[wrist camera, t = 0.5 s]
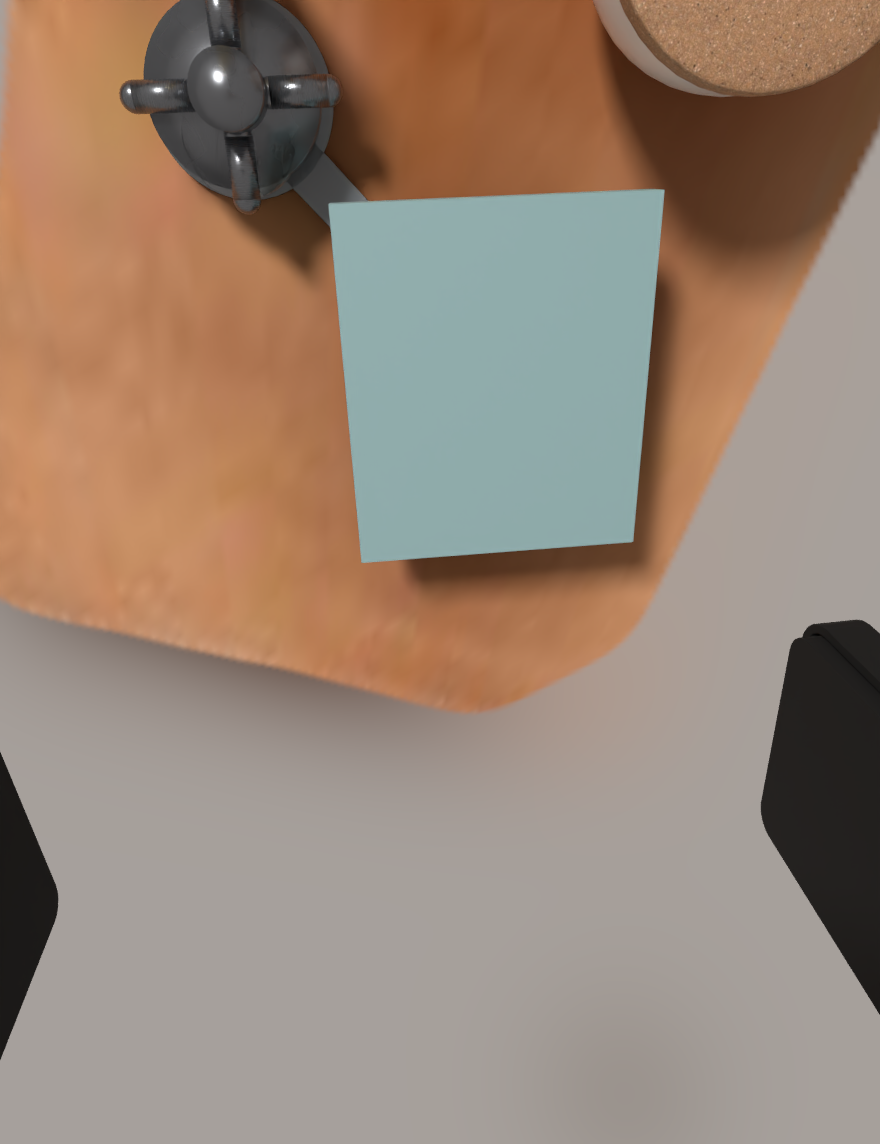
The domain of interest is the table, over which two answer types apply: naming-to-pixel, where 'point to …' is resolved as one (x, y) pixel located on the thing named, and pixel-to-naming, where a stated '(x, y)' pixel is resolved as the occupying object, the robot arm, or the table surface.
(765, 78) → the lidded jar
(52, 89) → the table surface
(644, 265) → the spoked knob panel
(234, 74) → the cross handle valve
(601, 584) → the table surface
